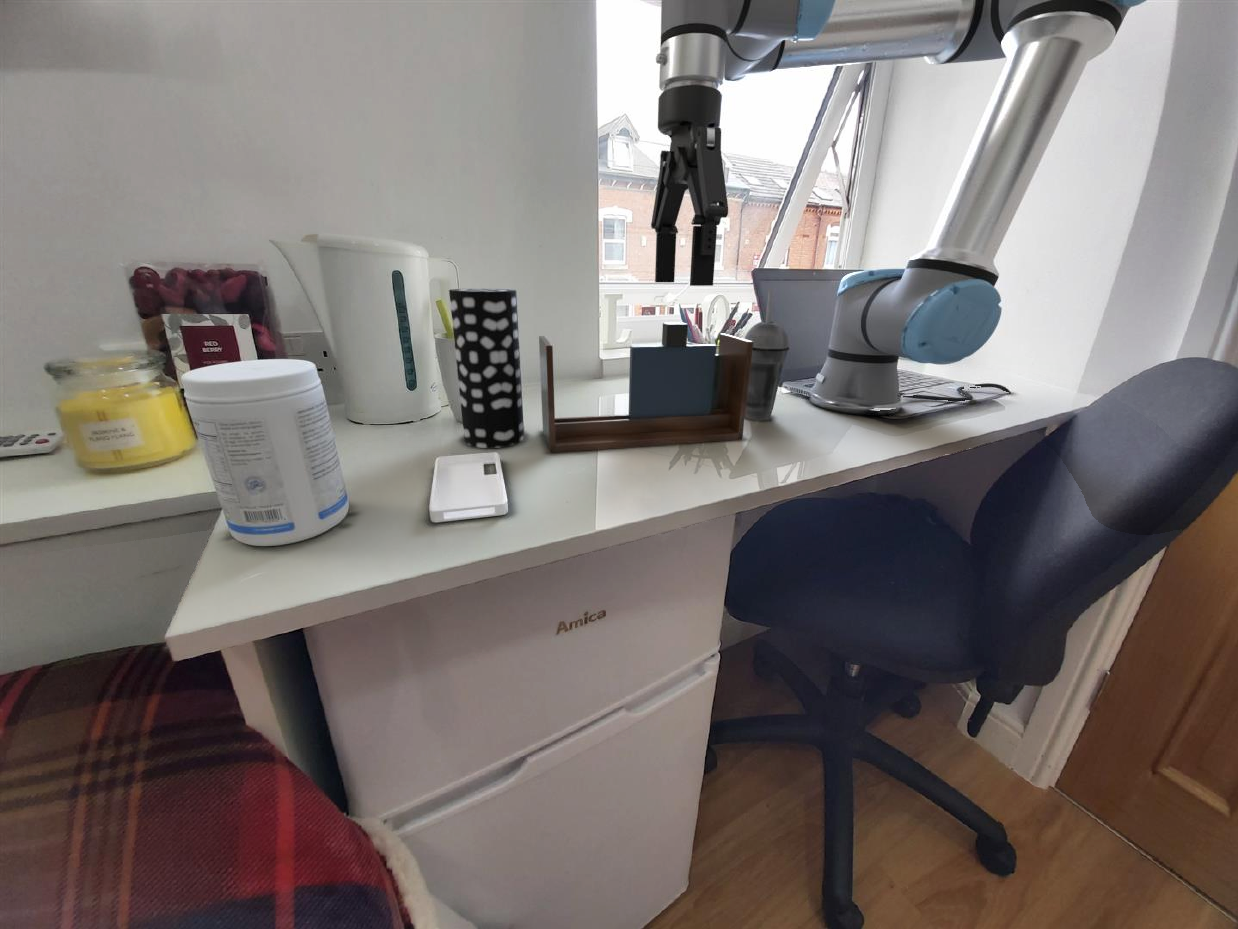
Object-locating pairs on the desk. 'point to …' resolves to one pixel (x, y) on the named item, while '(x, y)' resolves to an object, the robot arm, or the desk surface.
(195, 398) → the supplement tub
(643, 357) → the book
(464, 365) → the white-spotted black cylinder
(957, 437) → the desk surface
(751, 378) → the beverage cup
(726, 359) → the wooden desk organizer
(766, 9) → the robot arm
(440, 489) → the phone case
